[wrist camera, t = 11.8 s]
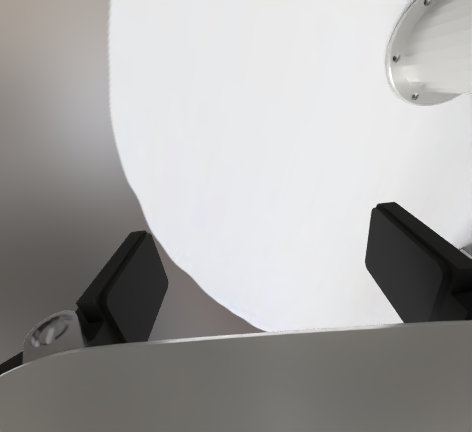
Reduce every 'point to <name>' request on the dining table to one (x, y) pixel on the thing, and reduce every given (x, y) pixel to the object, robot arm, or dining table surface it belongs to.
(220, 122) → the dining table surface
